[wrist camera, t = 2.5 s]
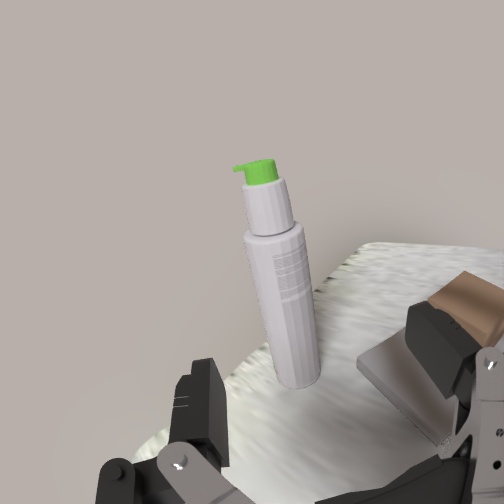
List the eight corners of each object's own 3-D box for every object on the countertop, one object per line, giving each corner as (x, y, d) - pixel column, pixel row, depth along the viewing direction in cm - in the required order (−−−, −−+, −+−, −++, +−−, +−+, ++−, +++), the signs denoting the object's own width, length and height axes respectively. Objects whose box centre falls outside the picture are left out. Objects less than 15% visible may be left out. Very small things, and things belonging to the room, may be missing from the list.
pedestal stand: (465, 289, 29) (472, 244, 27) (532, 326, 19) (548, 278, 16) (356, 367, 25) (358, 317, 22) (437, 446, 14) (464, 402, 11)
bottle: (296, 351, 29) (259, 157, 21) (329, 367, 26) (304, 154, 18) (267, 376, 26) (214, 171, 19) (300, 396, 23) (257, 167, 16)
